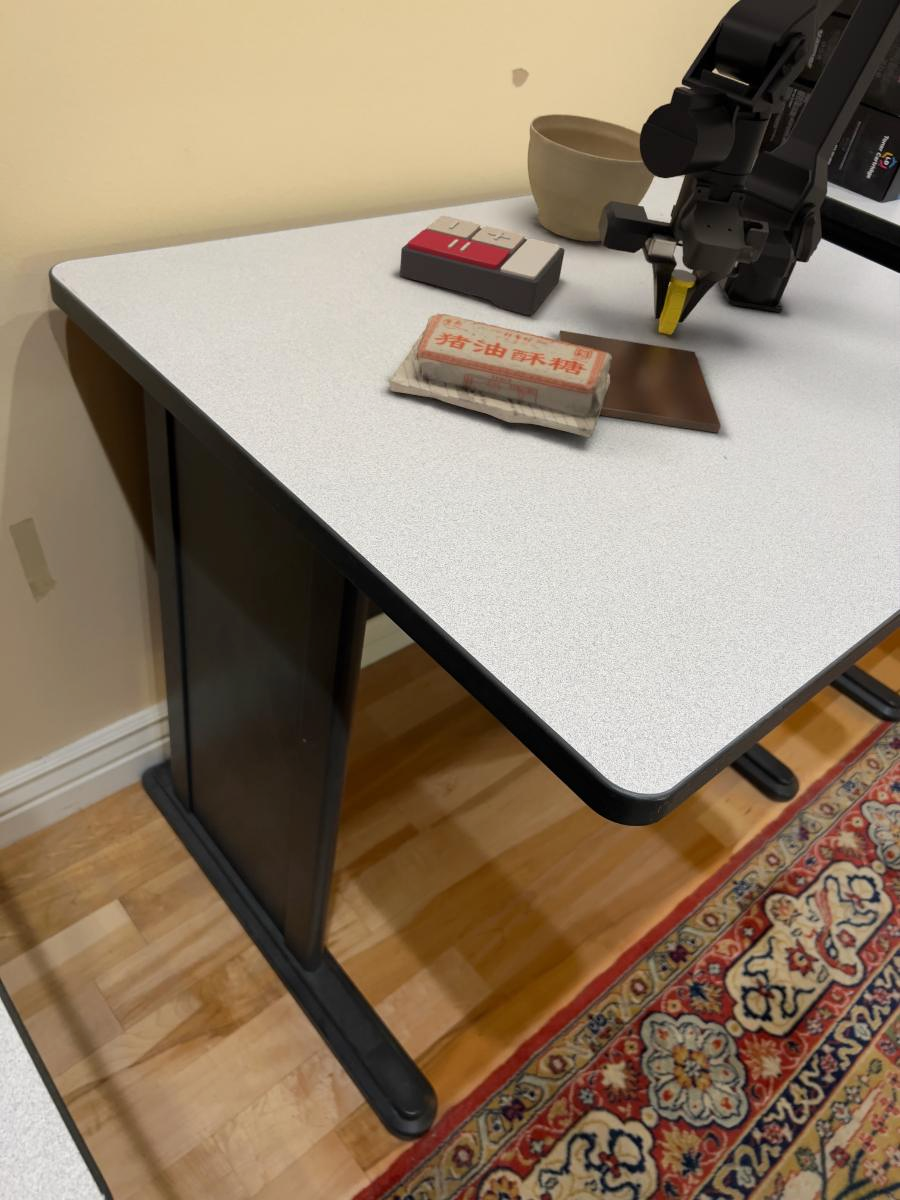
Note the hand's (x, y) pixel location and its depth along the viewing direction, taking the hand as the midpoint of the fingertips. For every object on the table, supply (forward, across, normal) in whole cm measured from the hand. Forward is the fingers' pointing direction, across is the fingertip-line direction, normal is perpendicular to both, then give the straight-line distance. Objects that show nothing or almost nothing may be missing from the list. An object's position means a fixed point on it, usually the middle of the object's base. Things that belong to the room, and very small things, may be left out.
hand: (667, 319), depth 94 cm
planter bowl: (+1, -8, +25) cm, 26 cm away
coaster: (+1, -5, -13) cm, 14 cm away
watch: (+1, 0, 0) cm, 1 cm away
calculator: (+1, -20, +5) cm, 21 cm away
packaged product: (+1, -18, -19) cm, 26 cm away
